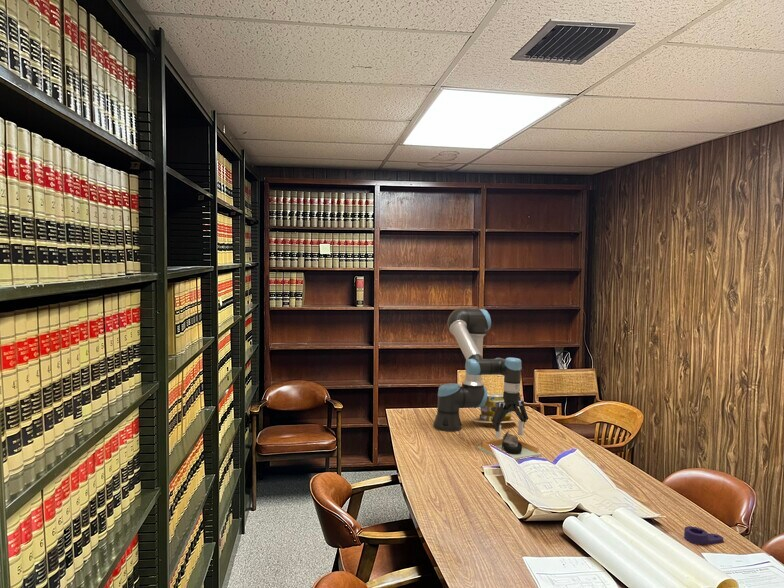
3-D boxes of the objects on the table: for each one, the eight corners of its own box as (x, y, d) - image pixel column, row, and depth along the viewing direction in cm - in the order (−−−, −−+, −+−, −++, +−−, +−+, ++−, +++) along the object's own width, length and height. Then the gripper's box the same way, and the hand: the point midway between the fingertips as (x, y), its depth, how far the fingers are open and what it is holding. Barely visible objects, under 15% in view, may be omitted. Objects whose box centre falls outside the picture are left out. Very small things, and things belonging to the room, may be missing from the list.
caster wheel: (517, 460, 237) (496, 452, 243) (526, 449, 246) (505, 442, 252) (518, 447, 235) (498, 440, 241) (527, 436, 245) (507, 429, 250)
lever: (693, 546, 161) (693, 536, 161) (679, 536, 167) (680, 526, 167) (729, 545, 162) (729, 535, 162) (714, 535, 168) (714, 525, 168)
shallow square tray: (477, 448, 248) (478, 441, 248) (511, 443, 258) (512, 436, 258) (506, 462, 230) (506, 453, 230) (541, 456, 241) (541, 448, 240)
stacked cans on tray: (465, 418, 305) (466, 389, 305) (504, 417, 311) (505, 389, 311) (481, 430, 281) (483, 399, 281) (524, 429, 287) (525, 398, 287)
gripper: (496, 395, 234) (493, 442, 235) (537, 391, 246) (535, 435, 247) (485, 391, 241) (483, 437, 242) (526, 388, 253) (524, 431, 254)
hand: (509, 436), depth 245 cm, fingers open, 13 cm apart
